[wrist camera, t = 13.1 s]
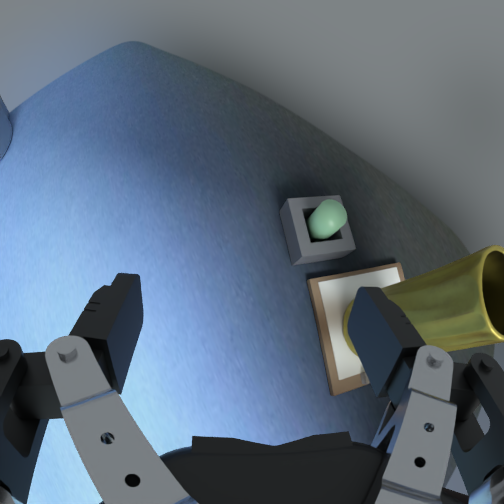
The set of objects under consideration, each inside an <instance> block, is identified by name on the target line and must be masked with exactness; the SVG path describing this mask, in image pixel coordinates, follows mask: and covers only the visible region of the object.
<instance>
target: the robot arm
mask: <svg viewBox="0 0 504 504" xmlns="http://www.w3.org/2000/svg"><path fill="white" fill-rule="evenodd" d="M8 117H9V112H8V110H7V108H6V106H5V104H4V102H3V100H2V98H1V96H0V160H1V159H2V157H3V156H4V154H5V152H6V151H7V149H8V146H9V144H10V141H11V137H12V126H11V123H10V122H9V120H8ZM142 324H143V303H142V293H141V282H140V276H139V275H138V274H128V273H118V274H117V275H116V277H115V279H114V281H113V282H112V284H111V286H107V285H104V286H102V287H101V288H100V289H98V290H97V291H95V292H94V293H93V295H92V297H91V298H90V300H89V303H87V305H86V307H85V308H84V311H83V312H82V313H81V315H80V317H79V318H78V320H77V322H76V324H75V325H74V327H73V329H72V331H71V332H70V334H69V336H63V337H60V338H58V339H56V340H54V341H53V342H51V343H50V344H49V346H48V347H47V349H46V352H35V353H23V351H22V349H21V347H20V345H19V344H18V343H17V342H16V341H14V340H10V339H4V340H0V504H27V499H28V495H29V490H30V486H31V481H32V477H33V473H34V469H35V465H36V462H37V458H38V454H39V451H40V447H41V444H42V440H43V437H44V434H45V431H46V427H47V424H48V421H49V419H58V418H64V421H65V423H66V426H67V428H68V430H69V433H70V435H71V438H72V440H73V442H74V444H75V447H76V449H77V451H78V453H79V455H80V457H81V460H82V462H83V464H84V466H85V468H86V470H87V472H88V474H89V476H90V478H91V479H92V481H93V483H94V485H95V487H96V489H97V491H98V492H99V494H100V496H101V498H102V499H103V501H102V502H101V503H99V504H464V503H462V502H461V501H459V500H457V499H456V498H454V497H452V496H451V495H449V494H447V493H446V492H444V491H442V486H443V482H444V478H445V474H446V469H447V465H448V460H449V455H450V450H451V452H452V454H453V456H454V459H455V461H456V464H457V466H458V469H459V471H460V474H461V476H462V479H463V481H464V484H465V487H466V490H467V492H468V495H469V504H504V371H503V370H502V368H501V367H500V365H499V364H498V363H497V361H495V359H493V358H492V357H491V356H489V355H487V354H484V353H475V354H474V355H472V357H471V359H470V360H469V362H468V364H463V363H455V362H453V361H452V358H451V357H450V356H449V354H448V353H447V352H445V351H444V350H442V349H441V348H439V347H436V346H432V345H427V344H426V343H425V341H424V340H423V339H422V337H421V336H420V334H419V333H418V331H417V330H416V329H415V327H414V326H413V324H411V322H410V320H409V319H408V317H406V315H405V313H404V312H403V310H402V309H401V308H400V307H399V306H398V305H397V304H395V303H394V302H393V301H391V300H389V299H388V298H387V296H386V295H385V294H384V292H383V291H382V290H381V288H379V287H363V286H362V287H360V288H359V289H358V290H357V293H356V296H355V300H354V303H353V306H352V309H351V313H350V316H349V319H348V324H347V329H348V335H349V337H350V339H351V342H352V344H353V346H354V348H355V350H356V352H357V355H358V357H359V359H360V361H361V363H362V366H363V368H364V370H365V372H366V374H367V377H368V379H369V381H370V383H371V386H372V388H373V390H374V393H375V395H376V397H377V398H379V397H386V396H389V397H390V399H391V400H390V402H389V403H388V405H387V407H386V410H385V413H384V415H383V418H382V420H381V423H380V425H379V428H378V430H377V433H376V435H375V437H374V440H373V442H372V444H371V446H370V445H367V444H363V443H358V442H352V441H351V438H350V434H349V431H347V432H339V433H330V434H320V435H312V436H309V437H306V438H303V439H299V440H296V441H292V442H289V443H285V444H282V445H278V446H271V445H265V444H260V443H255V442H250V441H245V440H240V439H236V438H222V437H201V436H192V446H191V447H184V448H180V449H176V450H173V451H170V452H168V453H165V454H163V455H161V456H158V455H157V453H156V452H155V450H154V449H153V448H152V446H151V445H150V443H149V442H148V440H147V439H146V437H145V436H144V434H143V433H142V431H141V430H140V428H139V427H138V425H137V424H136V422H135V421H134V419H133V418H132V416H131V414H130V413H129V411H128V409H127V408H126V406H125V405H124V403H123V401H122V399H121V398H120V396H119V394H121V393H122V390H123V386H124V383H125V379H126V376H127V373H128V369H129V366H130V363H131V359H132V356H133V353H134V350H135V347H136V344H137V341H138V338H139V334H140V331H141V328H142ZM480 403H481V405H482V406H483V408H484V410H485V412H486V413H487V415H488V417H489V419H490V428H489V431H488V432H487V434H486V435H484V433H483V431H482V429H481V428H480V425H479V424H478V422H477V420H476V418H475V416H474V414H473V412H474V411H475V409H476V408H477V407H478V406H479V404H480Z"/></svg>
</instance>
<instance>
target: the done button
mask: <svg viewBox="0 0 504 504" xmlns="http://www.w3.org/2000/svg"><path fill="white" fill-rule="evenodd" d="M346 220H347V213H346V210H345V208H344V207H343V206H342V205H341V204H340V203H339V202H338V201H336V200H332V199H327V200H325V201H323V202H322V203H321V204H320V205H319V206H318V207H317V209H316V210H315V211H314V212H313V213H312V214H311V215H310V217H309V218H308V219H307V220H306V222H305V223H306V227H307V231H308V234H309V238H310V239H312V240H313V241H316V242H323V241H325V240H327V239H328V238H329V237H330V236H331V235H333V234H334V233H335V232H336V231H337V230H338V229H340V228H341V227H342V226H343V225H344V224H345V223H346Z"/></svg>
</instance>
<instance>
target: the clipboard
mask: <svg viewBox="0 0 504 504" xmlns="http://www.w3.org/2000/svg"><path fill="white" fill-rule="evenodd" d="M404 280H405V279H404V275H403V271H402V267H401V264H400V262H399V263H394V264H389V265H384V266H379V267H373V268H368V269H363V270H358V271H352V272H347V273H341V274H336V275H330V276H325V277H319V278H313V279H309V280H307V284H308V288H309V293H310V297H311V302H312V306H313V311H314V315H315V320H316V324H317V329H318V334H319V339H320V343H321V348H322V353H323V358H324V363H325V368H326V373H327V378H328V384H329V389H330V394H331V396H336V395H339V394H341V393H344V392H347V391H350V390H353V389H356V388H359V387H361V386H364V385H367V384H369V383H370V381H369V379H368V377H367V374H366V372H365V370H364V368H363V366H362V363H361V361H360V359H359V357H358V356H356V355H355V354H354V353H353V352H352V351H351V350H350V348H349V347H348V345H347V343H346V341H345V337H344V333H343V321H344V315H345V312H346V309H347V307H348V306H349V304H350V303H351V301H352V300H353V299H354V298H355V296H356V293H357V290H358V289H359V288H360V287H362V286H363V287H379V288H383V287H386V286H389V285H392V284H395V283H398V282H401V281H404Z"/></svg>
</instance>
